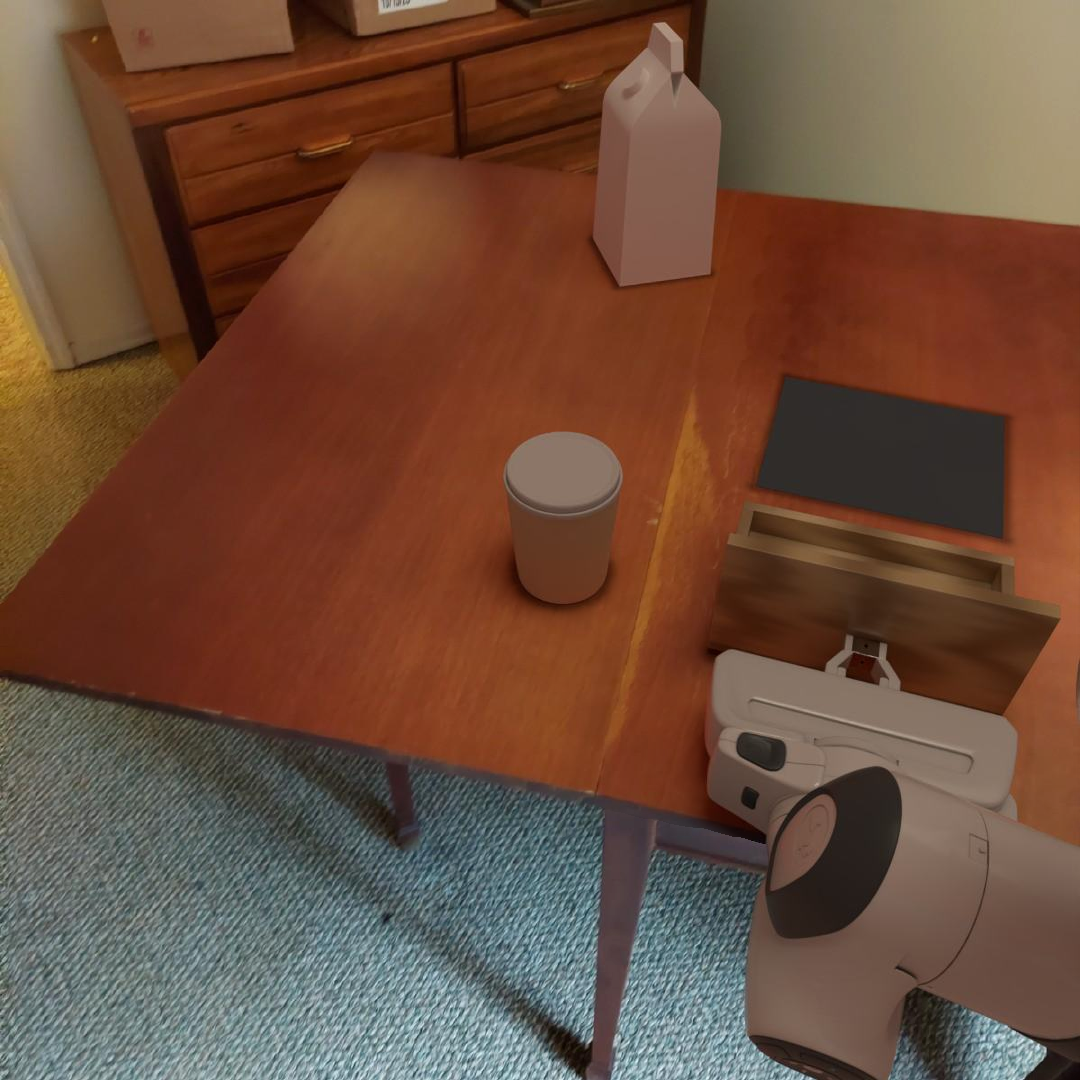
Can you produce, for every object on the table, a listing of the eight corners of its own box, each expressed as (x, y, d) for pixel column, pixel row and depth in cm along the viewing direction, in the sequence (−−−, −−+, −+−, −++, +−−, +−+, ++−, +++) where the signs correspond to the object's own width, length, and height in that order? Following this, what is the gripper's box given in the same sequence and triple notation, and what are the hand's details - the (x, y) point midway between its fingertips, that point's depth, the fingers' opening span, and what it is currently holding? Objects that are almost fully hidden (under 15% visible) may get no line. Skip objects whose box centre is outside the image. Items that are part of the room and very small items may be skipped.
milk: (710, 274, 116) (740, 46, 98) (619, 286, 114) (632, 57, 96) (678, 227, 124) (699, 8, 106) (592, 238, 123) (599, 18, 104)
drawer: (997, 591, 81) (1054, 480, 71) (996, 726, 71) (1061, 618, 62) (737, 534, 86) (759, 423, 76) (706, 653, 76) (726, 543, 67)
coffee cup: (638, 568, 83) (647, 464, 74) (566, 630, 78) (567, 527, 69) (558, 517, 87) (558, 413, 79) (486, 573, 83) (477, 469, 74)
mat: (1003, 418, 97) (1004, 417, 97) (1002, 540, 85) (1003, 538, 85) (785, 378, 102) (785, 376, 102) (755, 487, 90) (756, 485, 90)
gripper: (1037, 832, 56) (1031, 652, 65) (693, 739, 61) (733, 583, 70) (1000, 879, 61) (1000, 705, 70) (683, 789, 65) (722, 636, 74)
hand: (864, 643), depth 70 cm, fingers closed, pressing on drawer
